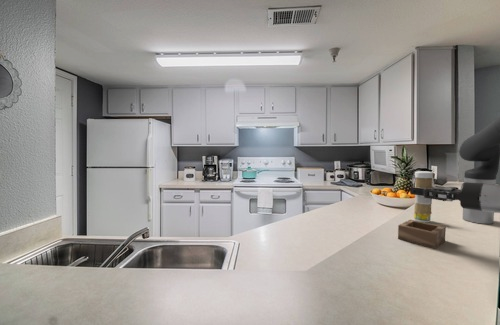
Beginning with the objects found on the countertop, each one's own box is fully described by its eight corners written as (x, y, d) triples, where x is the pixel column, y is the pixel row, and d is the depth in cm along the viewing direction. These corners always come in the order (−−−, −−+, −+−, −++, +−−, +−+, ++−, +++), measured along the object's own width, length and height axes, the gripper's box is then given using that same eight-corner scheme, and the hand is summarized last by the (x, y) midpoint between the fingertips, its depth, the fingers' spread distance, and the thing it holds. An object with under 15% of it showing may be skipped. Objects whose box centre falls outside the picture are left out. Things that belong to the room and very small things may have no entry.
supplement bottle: (432, 223, 95) (433, 199, 95) (416, 222, 97) (417, 198, 97) (427, 219, 101) (428, 196, 100) (412, 218, 102) (413, 195, 102)
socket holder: (409, 232, 86) (410, 219, 85) (445, 240, 78) (445, 226, 78) (397, 238, 80) (398, 225, 79) (435, 248, 72) (435, 233, 71)
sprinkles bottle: (417, 210, 81) (417, 170, 81) (433, 213, 78) (434, 171, 77) (412, 213, 78) (413, 171, 78) (429, 216, 75) (430, 172, 74)
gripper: (490, 181, 71) (421, 176, 84) (480, 186, 62) (404, 180, 75) (489, 207, 71) (420, 198, 84) (479, 215, 62) (404, 204, 76)
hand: (413, 189), depth 80 cm, fingers closed on sprinkles bottle, 4 cm apart
